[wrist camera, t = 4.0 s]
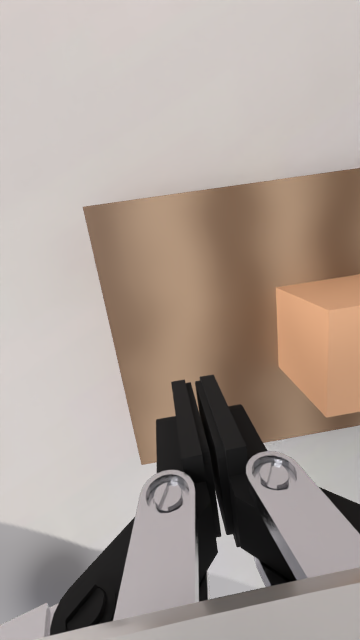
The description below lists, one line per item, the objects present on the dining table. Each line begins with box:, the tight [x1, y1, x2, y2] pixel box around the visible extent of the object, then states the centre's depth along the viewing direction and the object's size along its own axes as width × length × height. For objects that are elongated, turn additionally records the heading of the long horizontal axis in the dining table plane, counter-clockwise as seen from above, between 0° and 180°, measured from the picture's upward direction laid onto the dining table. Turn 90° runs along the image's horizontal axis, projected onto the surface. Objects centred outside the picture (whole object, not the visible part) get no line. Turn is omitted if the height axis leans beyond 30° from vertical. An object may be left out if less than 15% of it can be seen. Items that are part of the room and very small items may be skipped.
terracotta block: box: [276, 274, 360, 418], centre depth 14 cm, size 5×5×5 cm
